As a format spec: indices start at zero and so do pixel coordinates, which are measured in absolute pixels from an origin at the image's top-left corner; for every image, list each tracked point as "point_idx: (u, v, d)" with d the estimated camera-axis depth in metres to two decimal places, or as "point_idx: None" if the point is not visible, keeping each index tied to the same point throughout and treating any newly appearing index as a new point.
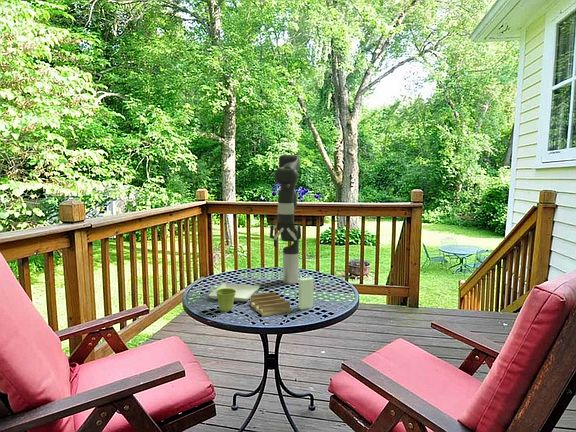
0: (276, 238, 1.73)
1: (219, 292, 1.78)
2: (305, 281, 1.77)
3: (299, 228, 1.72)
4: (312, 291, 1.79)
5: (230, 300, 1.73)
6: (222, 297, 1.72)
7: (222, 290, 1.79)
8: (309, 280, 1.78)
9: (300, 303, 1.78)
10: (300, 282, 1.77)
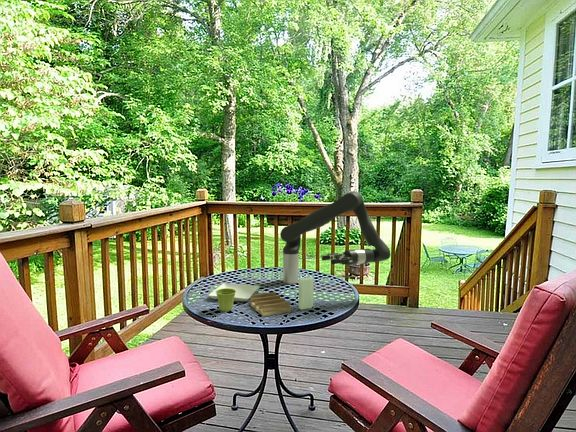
0: (339, 263, 1.81)
1: (219, 292, 1.78)
2: (305, 281, 1.77)
3: None
4: (312, 291, 1.79)
5: (230, 300, 1.73)
6: (222, 297, 1.72)
7: (222, 290, 1.79)
8: (309, 280, 1.78)
9: (300, 303, 1.78)
10: (300, 282, 1.77)
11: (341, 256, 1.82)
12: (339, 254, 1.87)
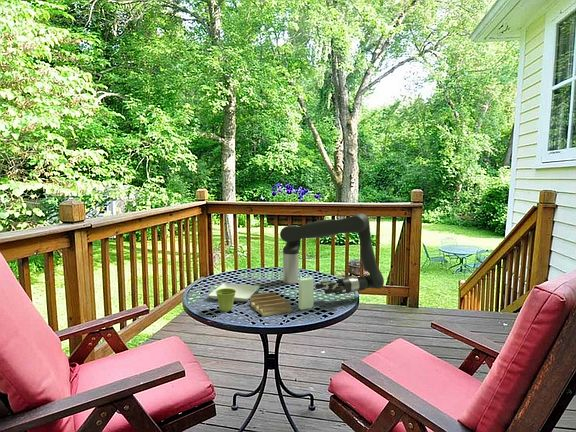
0: (332, 292, 1.81)
1: (219, 292, 1.78)
2: (305, 281, 1.77)
3: None
4: (312, 291, 1.79)
5: (230, 300, 1.73)
6: (222, 297, 1.72)
7: (222, 290, 1.79)
8: (309, 280, 1.78)
9: (300, 303, 1.78)
10: (300, 282, 1.77)
11: (334, 285, 1.83)
12: (332, 283, 1.87)
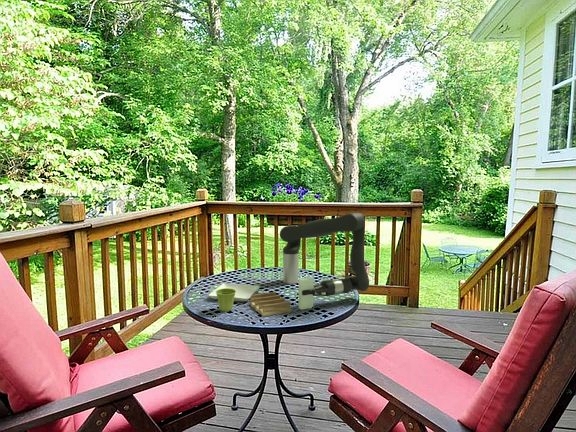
0: None
1: (219, 292, 1.78)
2: (305, 281, 1.77)
3: None
4: None
5: (230, 300, 1.73)
6: (222, 297, 1.72)
7: (222, 290, 1.79)
8: (309, 280, 1.78)
9: (300, 303, 1.78)
10: (300, 282, 1.77)
11: (315, 287, 1.79)
12: (317, 285, 1.82)
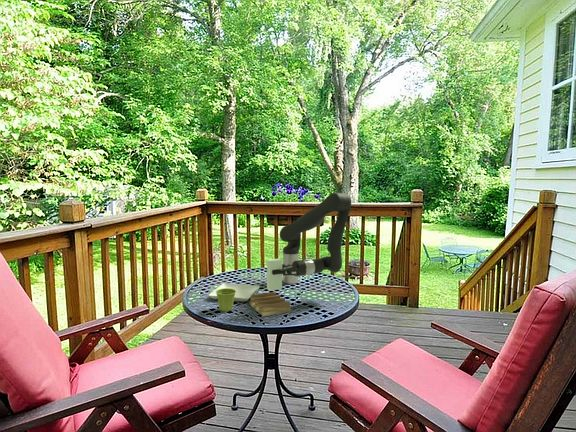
0: (280, 273, 1.77)
1: (219, 292, 1.78)
2: (273, 262, 1.74)
3: None
4: None
5: (230, 300, 1.73)
6: (222, 297, 1.72)
7: (222, 290, 1.79)
8: (277, 261, 1.75)
9: (268, 284, 1.76)
10: (268, 263, 1.75)
11: (286, 267, 1.78)
12: (288, 265, 1.81)
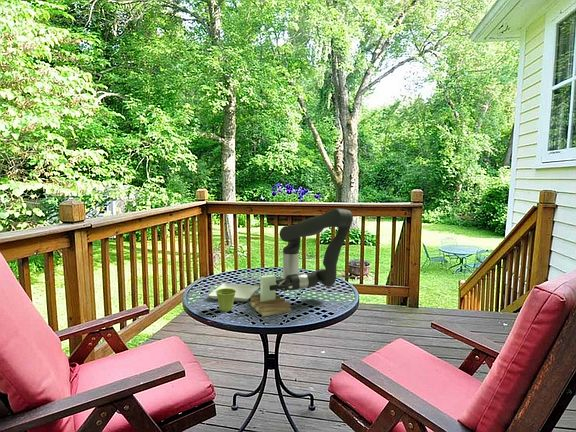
0: (278, 289, 1.76)
1: (219, 292, 1.78)
2: (266, 278, 1.75)
3: None
4: None
5: (230, 300, 1.73)
6: (222, 297, 1.72)
7: (222, 290, 1.79)
8: (271, 277, 1.76)
9: (261, 300, 1.76)
10: (261, 279, 1.75)
11: (281, 281, 1.77)
12: (280, 279, 1.81)
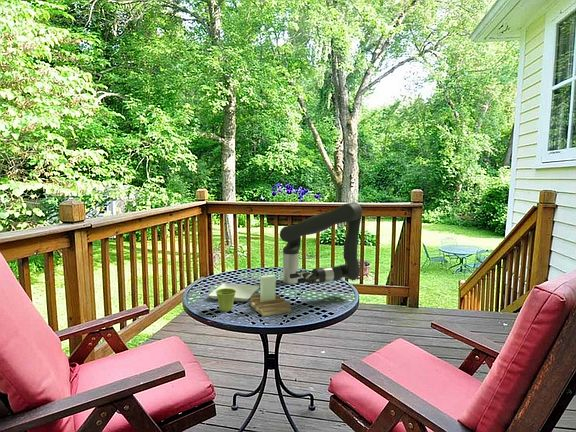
0: None
1: (219, 292, 1.78)
2: (266, 278, 1.75)
3: None
4: (274, 288, 1.77)
5: (230, 300, 1.73)
6: (222, 297, 1.72)
7: (222, 290, 1.79)
8: (271, 277, 1.76)
9: (261, 300, 1.76)
10: (261, 279, 1.75)
11: (308, 275, 1.83)
12: (307, 272, 1.87)
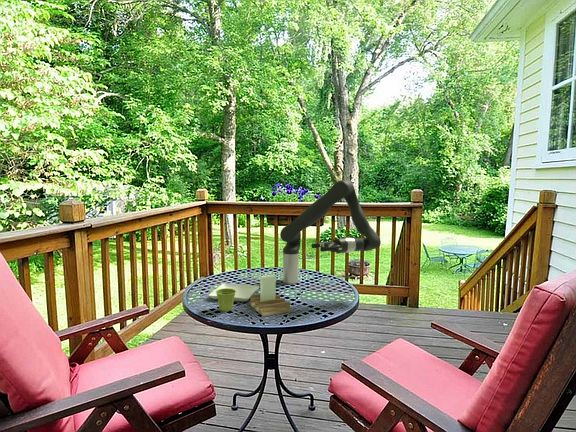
0: None
1: (219, 292, 1.78)
2: (266, 278, 1.75)
3: None
4: (274, 288, 1.77)
5: (230, 300, 1.73)
6: (222, 297, 1.72)
7: (222, 290, 1.79)
8: (271, 277, 1.76)
9: (261, 300, 1.76)
10: (261, 279, 1.75)
11: (331, 244, 1.82)
12: (329, 242, 1.86)
